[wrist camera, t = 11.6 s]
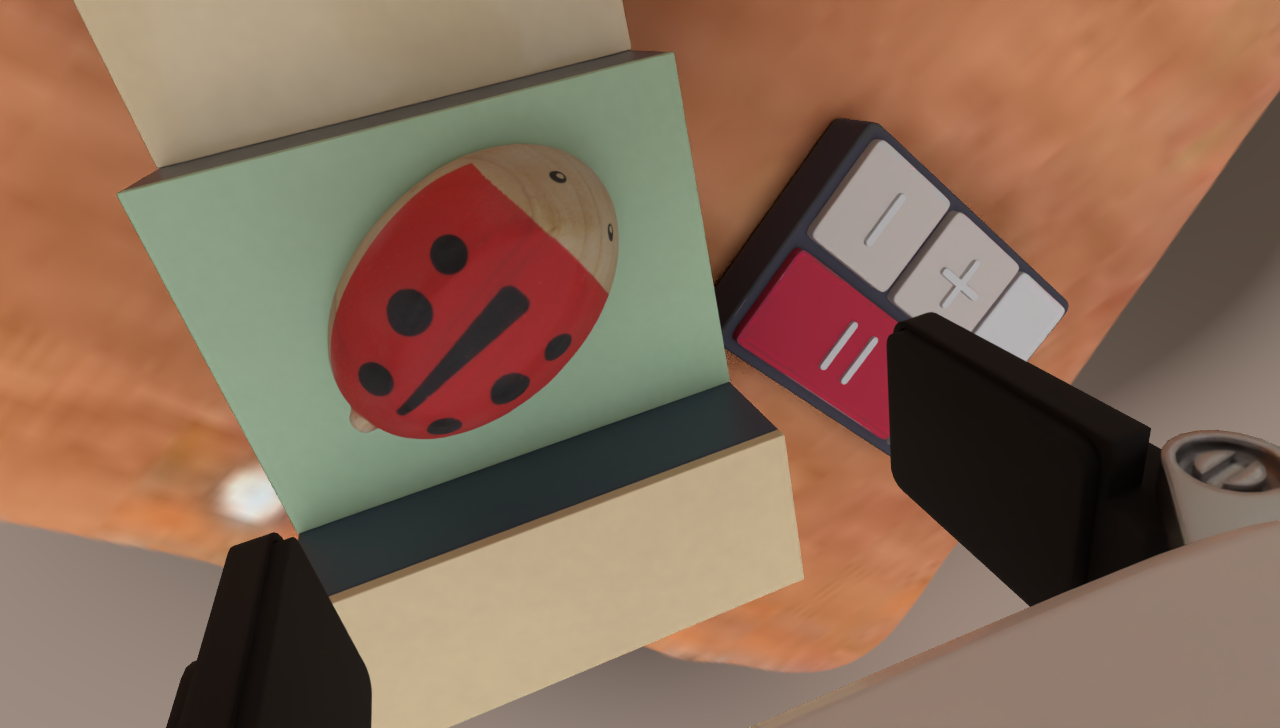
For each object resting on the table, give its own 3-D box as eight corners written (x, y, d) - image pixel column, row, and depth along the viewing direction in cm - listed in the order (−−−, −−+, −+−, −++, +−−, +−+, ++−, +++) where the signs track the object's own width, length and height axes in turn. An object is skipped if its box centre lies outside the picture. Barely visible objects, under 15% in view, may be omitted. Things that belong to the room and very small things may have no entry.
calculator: (885, 118, 29) (1086, 310, 35) (829, 112, 33) (1020, 286, 39) (719, 347, 31) (940, 491, 37) (685, 316, 34) (891, 451, 41)
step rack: (93, -46, 23) (-152, -120, 12) (561, -137, 25) (689, -260, 15) (369, 533, 33) (366, 762, 22) (679, 421, 36) (804, 579, 25)
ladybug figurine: (657, 233, 23) (701, 263, 20) (456, 465, 24) (468, 529, 21) (489, 76, 20) (510, 83, 17) (264, 351, 21) (244, 406, 18)
